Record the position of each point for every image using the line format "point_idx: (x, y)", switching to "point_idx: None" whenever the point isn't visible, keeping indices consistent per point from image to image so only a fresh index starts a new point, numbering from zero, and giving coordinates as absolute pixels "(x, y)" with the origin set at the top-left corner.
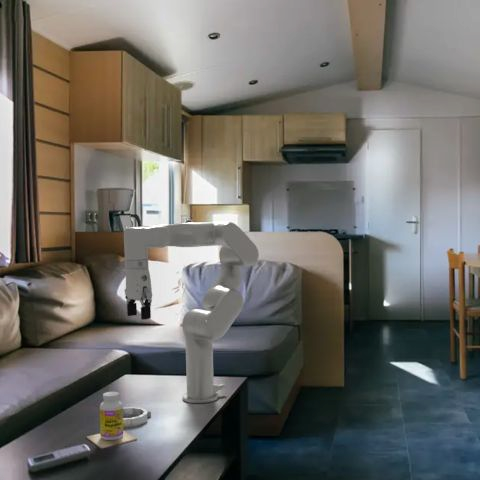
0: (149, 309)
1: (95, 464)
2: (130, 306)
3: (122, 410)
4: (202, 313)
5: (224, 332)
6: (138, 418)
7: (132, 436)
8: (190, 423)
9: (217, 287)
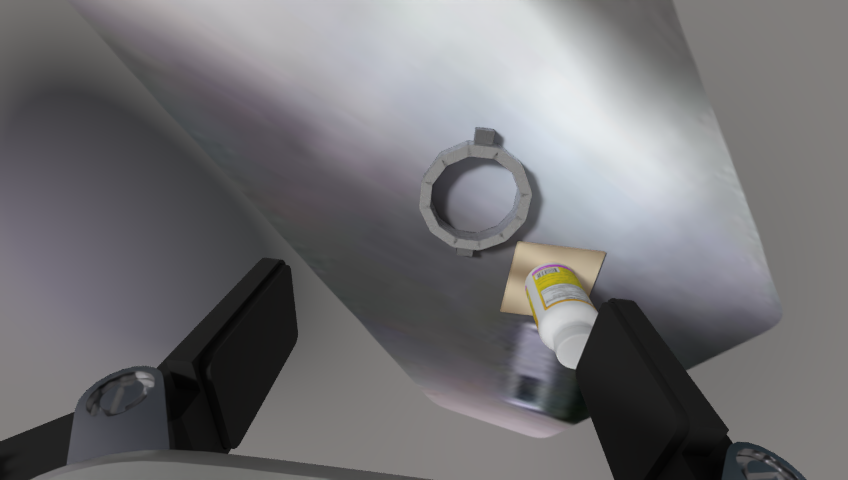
0: (686, 394)
1: None
2: (245, 404)
3: (593, 305)
4: None
5: None
6: (529, 200)
7: (586, 252)
8: (642, 77)
9: None
